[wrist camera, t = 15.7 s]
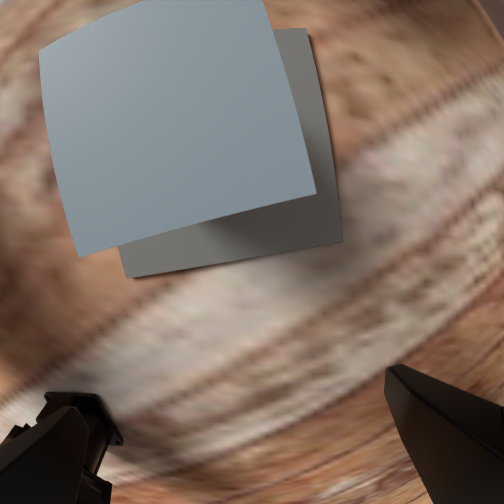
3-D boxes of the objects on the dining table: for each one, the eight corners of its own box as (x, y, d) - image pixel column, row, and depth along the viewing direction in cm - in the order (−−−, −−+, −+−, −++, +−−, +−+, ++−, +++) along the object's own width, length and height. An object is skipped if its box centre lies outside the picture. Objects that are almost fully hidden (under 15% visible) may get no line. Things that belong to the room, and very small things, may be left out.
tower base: (340, 239, 20) (366, 259, 15) (129, 275, 20) (102, 303, 15) (304, 31, 16) (320, -2, 12) (94, 74, 16) (60, 55, 12)
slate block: (248, 36, 9) (252, -27, 5) (288, 185, 10) (316, 193, 6) (99, 83, 9) (39, 51, 5) (132, 226, 10) (78, 257, 6)
